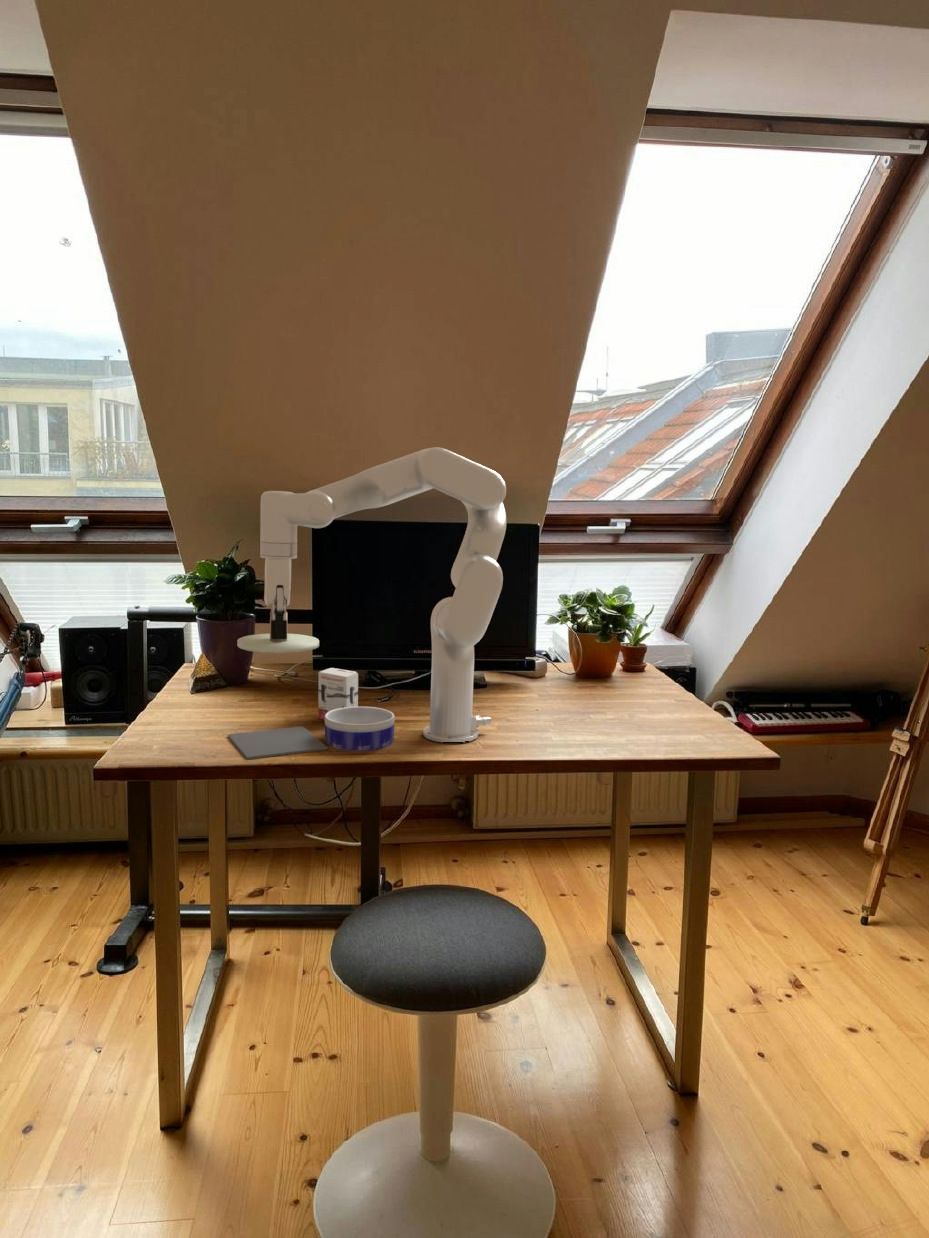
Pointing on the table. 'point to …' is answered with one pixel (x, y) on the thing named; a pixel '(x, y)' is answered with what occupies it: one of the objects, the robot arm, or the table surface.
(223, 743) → the table surface
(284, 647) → the lid
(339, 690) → the ink box
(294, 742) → the mat
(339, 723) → the dog bowl
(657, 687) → the table surface
